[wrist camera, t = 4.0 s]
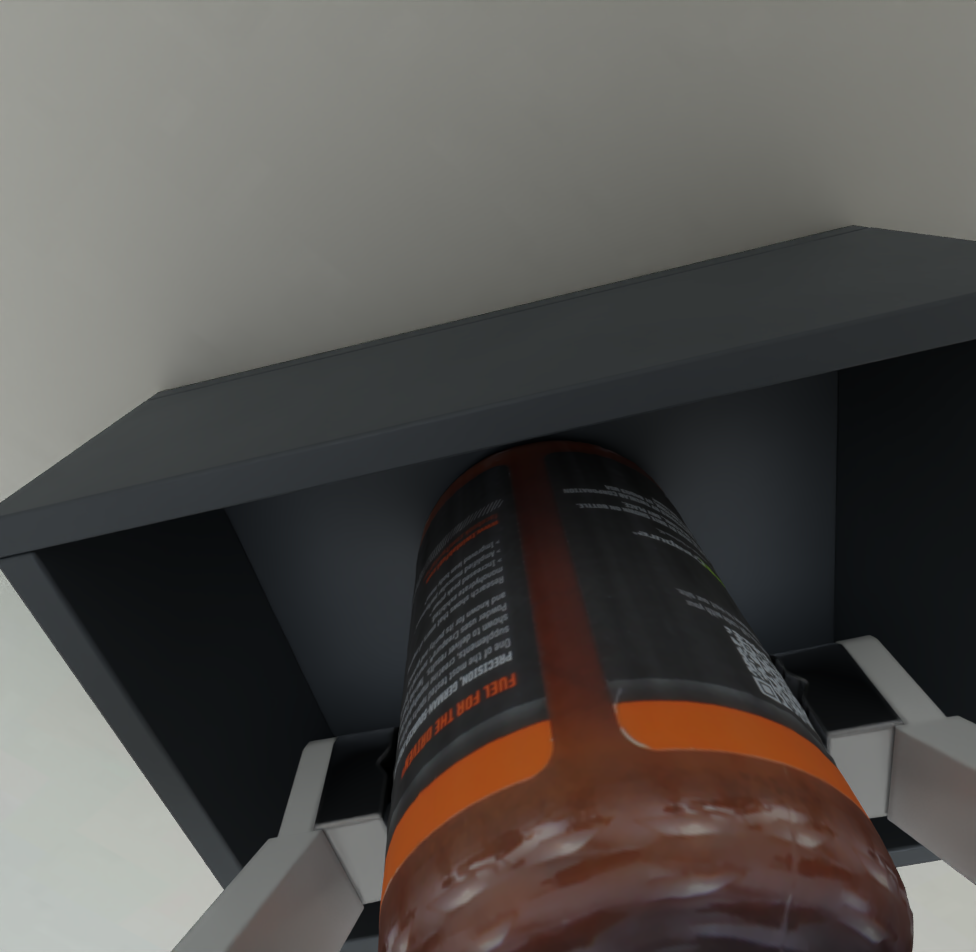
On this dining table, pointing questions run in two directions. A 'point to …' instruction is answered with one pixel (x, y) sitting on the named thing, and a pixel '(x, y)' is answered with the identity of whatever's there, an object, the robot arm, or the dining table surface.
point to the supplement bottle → (608, 741)
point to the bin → (493, 428)
